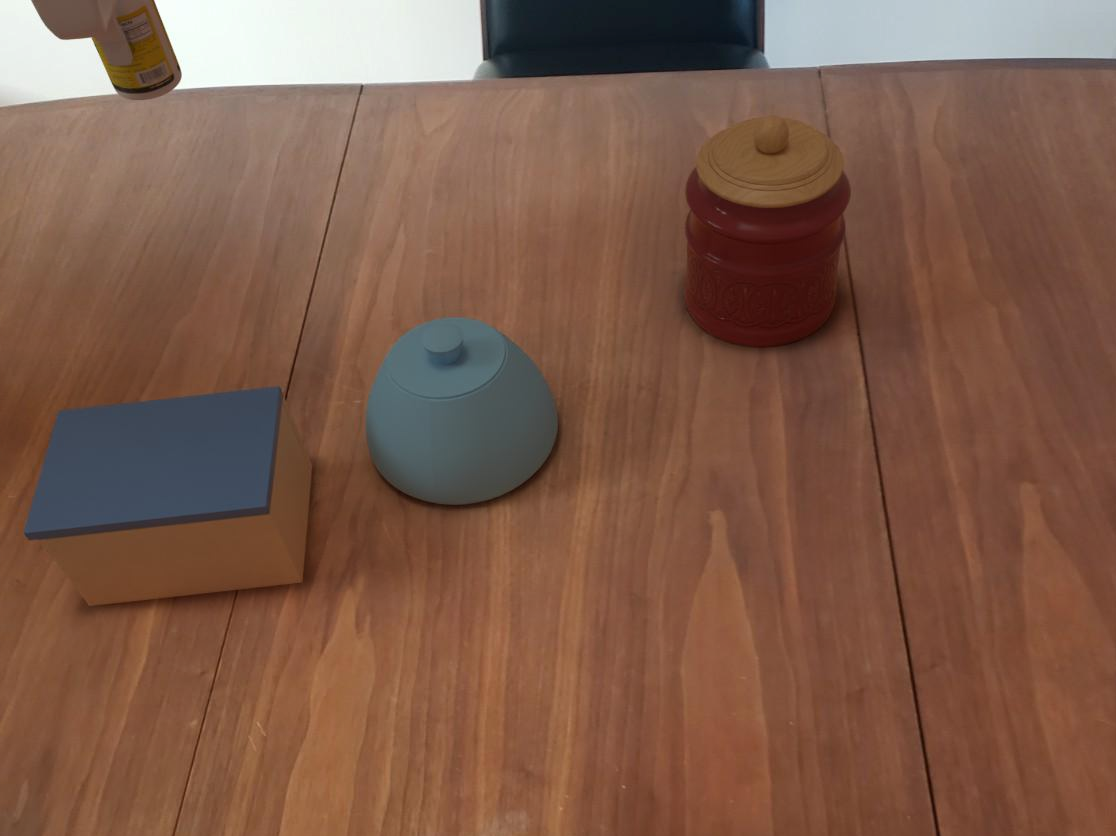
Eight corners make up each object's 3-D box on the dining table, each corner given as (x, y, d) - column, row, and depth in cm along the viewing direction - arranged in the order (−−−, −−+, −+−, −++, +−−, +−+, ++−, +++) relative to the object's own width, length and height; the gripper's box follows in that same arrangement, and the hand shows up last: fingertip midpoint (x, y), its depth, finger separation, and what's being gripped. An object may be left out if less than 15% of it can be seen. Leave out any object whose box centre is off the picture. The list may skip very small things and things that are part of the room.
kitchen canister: (727, 377, 90) (737, 188, 76) (659, 288, 97) (656, 101, 83) (862, 328, 92) (896, 136, 78) (786, 245, 100) (804, 56, 85)
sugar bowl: (436, 364, 93) (409, 251, 84) (591, 412, 89) (581, 297, 79) (338, 484, 85) (297, 374, 76) (503, 543, 81) (480, 434, 72)
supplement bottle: (133, 65, 88) (79, -65, 80) (194, 68, 87) (146, -63, 79) (103, 101, 85) (44, -31, 77) (166, 104, 84) (113, -28, 76)
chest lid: (28, 540, 72) (22, 533, 72) (63, 418, 79) (57, 410, 78) (269, 514, 72) (266, 506, 72) (283, 393, 79) (279, 385, 78)
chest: (96, 615, 79) (38, 540, 72) (122, 497, 86) (71, 417, 79) (306, 591, 79) (270, 514, 72) (316, 475, 86) (283, 394, 79)
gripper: (31, -221, 78) (111, -20, 89) (-38, -101, 66) (65, 113, 77) (118, -230, 78) (187, -28, 89) (65, -112, 66) (153, 104, 77)
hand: (130, 39), depth 83 cm, fingers closed on supplement bottle, 5 cm apart
